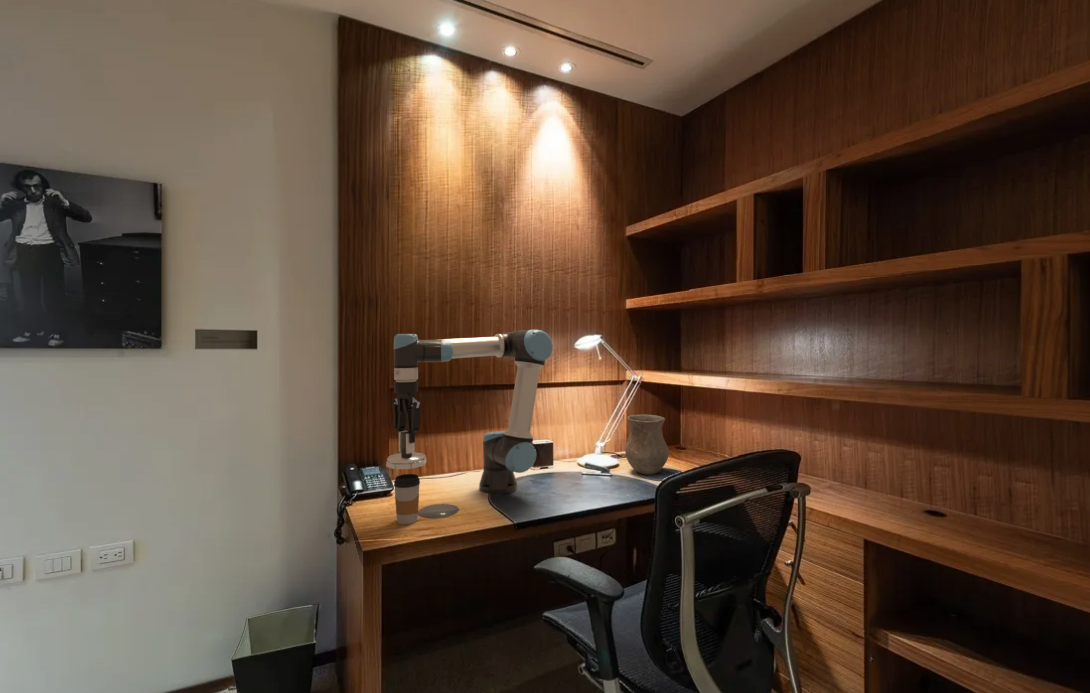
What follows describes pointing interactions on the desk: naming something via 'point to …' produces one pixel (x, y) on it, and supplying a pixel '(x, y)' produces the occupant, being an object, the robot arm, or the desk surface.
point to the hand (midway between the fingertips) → (406, 451)
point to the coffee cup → (407, 498)
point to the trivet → (438, 511)
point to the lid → (405, 457)
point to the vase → (646, 444)
